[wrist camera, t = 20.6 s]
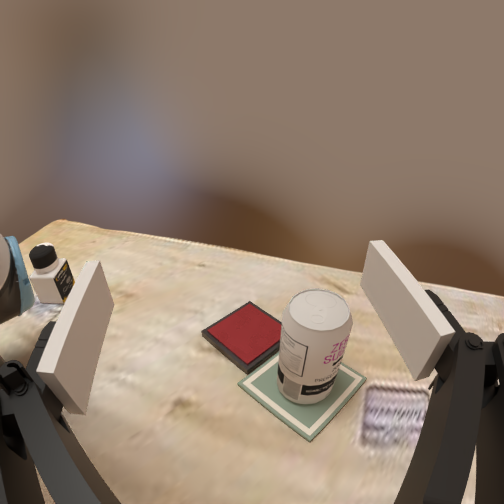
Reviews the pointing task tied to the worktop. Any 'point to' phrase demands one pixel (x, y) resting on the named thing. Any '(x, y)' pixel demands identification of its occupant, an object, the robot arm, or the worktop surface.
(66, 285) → the medicine bottle
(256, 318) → the ink pad
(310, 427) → the mat
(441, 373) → the robot arm
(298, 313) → the supplement can
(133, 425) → the worktop surface
